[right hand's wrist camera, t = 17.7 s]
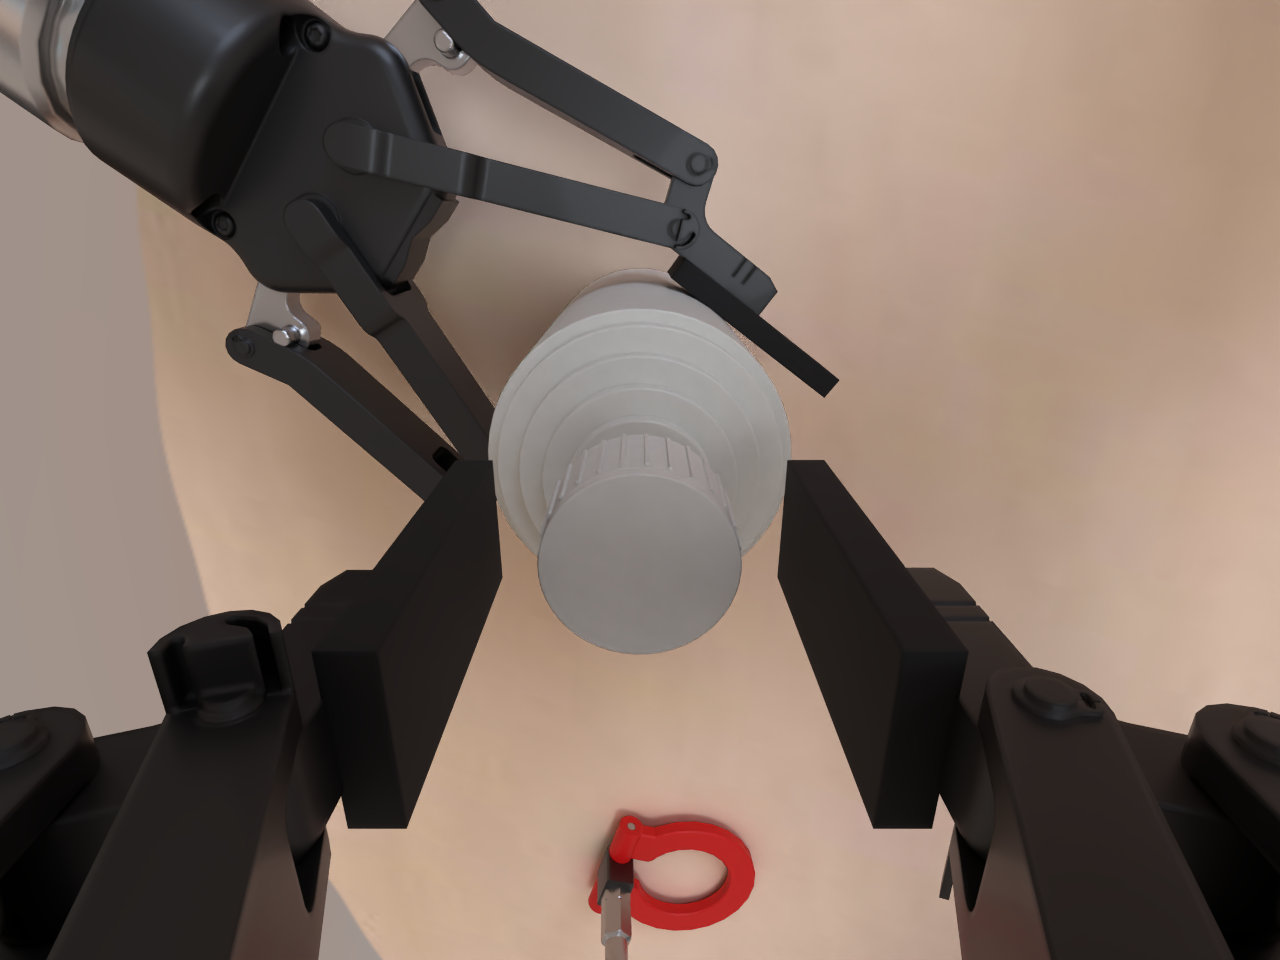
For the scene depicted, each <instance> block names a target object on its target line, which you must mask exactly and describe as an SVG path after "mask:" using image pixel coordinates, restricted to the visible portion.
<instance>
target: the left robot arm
mask: <svg viewBox="0 0 1280 960" xmlns="http://www.w3.org/2000/svg"><path fill="white" fill-rule="evenodd" d="M477 64H478V65H479V66H480V67H481V68H482V69H483V70H484V71H486V72H487V73H488V74H489V75H491V76H492V77H493V78H494V79H495V80H497V81H498V82H500V83H501V84H503V85H505V86H506V87H508V88H509V89H511V90H513V91H515V92H516V93H518V94H520V95H522V96H523V97H525V98H527V99H529V100H531V101H532V102H534V103H536V104H538V105H539V106H541V107H543V108H545V109H547V110H548V111H550V112H552V113H554V114H555V115H557V116H559V117H561V118H563V119H564V120H566V121H568V122H570V123H571V124H573V125H575V126H577V127H579V128H580V129H582V130H584V131H586V132H587V133H589V134H591V135H593V136H595V137H596V138H598V139H600V140H602V141H603V142H605V143H607V144H609V145H611V146H612V147H614V148H616V149H618V150H619V151H621V152H623V153H625V154H627V155H628V156H630V157H632V158H634V159H635V160H637V161H639V162H641V163H643V164H644V165H646V166H648V167H650V168H651V169H653V170H655V171H657V172H659V173H660V174H662V175H664V176H666V177H667V178H669V179H671V182H670V185H669V189H668V192H667V196H666V199H665V203H660V202H656V201H652V200H648V199H644V198H640V197H636V196H632V195H629V194H625V193H621V192H617V191H613V190H609V189H605V188H601V187H597V186H593V185H589V184H586V183H582V182H578V181H574V180H570V179H566V178H562V177H558V176H554V175H550V174H546V173H543V172H539V171H535V170H531V169H527V168H523V167H519V166H515V165H511V164H507V163H503V162H500V161H496V160H492V159H488V158H484V157H481V156H477V155H473V154H470V153H466V152H462V151H458V150H454V149H450V148H447V146H446V144H445V141H444V138H443V136H442V133H441V130H440V128H439V125H438V122H437V120H436V117H435V115H434V112H433V109H432V107H431V104H430V101H429V99H428V96H427V93H426V91H425V88H424V85H423V83H422V80H421V77H420V75H419V72H420V71H421V70H423V69H424V68H425V67H428V66H434V65H436V66H439V67H442V68H444V69H445V70H447V71H448V72H450V73H451V74H454V75H457V76H463V75H466V74H468V73H470V72H471V71H472V70H473V69H474V68H475V67H476V65H477ZM0 92H1V93H2V94H4V95H5V96H7V97H8V98H10V99H11V100H13V101H14V102H15V103H17V104H18V105H20V106H21V107H23V108H24V109H26V110H27V111H28V112H30V113H31V114H33V115H34V116H36V117H37V118H39V119H40V120H41V121H43V122H44V123H46V124H47V125H49V126H50V127H52V128H53V129H55V130H56V131H58V132H60V133H61V134H63V135H65V136H66V137H68V138H70V139H71V140H75V141H79V142H82V143H84V144H85V145H86V146H87V147H88V149H89V150H90V151H91V152H92V153H93V154H94V155H95V156H97V157H98V158H99V159H100V160H102V161H103V162H105V163H106V164H107V165H109V166H110V167H112V168H113V169H115V170H116V171H118V172H119V173H121V174H122V175H124V176H125V177H127V178H128V179H130V180H131V181H133V182H134V183H136V184H137V185H139V186H140V187H142V188H143V189H145V190H146V191H148V192H149V193H151V194H152V195H154V196H155V197H156V198H158V199H159V200H161V201H162V202H164V203H165V204H167V205H168V206H170V207H171V208H173V209H174V210H176V211H177V212H179V213H180V214H182V215H183V216H185V217H186V218H188V219H189V220H191V221H192V222H194V223H195V224H197V225H198V226H200V227H202V228H203V229H205V230H207V231H208V232H210V233H212V234H213V235H215V236H217V237H219V238H220V239H222V240H223V241H225V242H226V243H227V244H228V245H230V246H231V247H232V248H233V249H234V250H235V252H236V253H237V254H238V255H239V256H240V258H241V259H242V261H243V262H244V264H245V265H246V267H247V269H248V270H249V272H250V273H251V274H252V276H253V277H254V278H255V279H256V280H257V281H258V284H257V288H256V291H255V295H254V299H253V302H252V306H251V310H250V313H249V317H248V321H247V324H246V326H245V327H242V328H239V329H235V330H233V331H232V332H230V333H229V334H228V336H227V338H226V349H227V351H228V354H229V355H230V356H231V357H232V359H234V360H235V361H237V362H238V363H240V364H242V365H244V366H247V367H249V368H251V369H253V370H256V371H258V372H260V373H262V374H265V375H267V376H269V377H272V378H274V379H276V380H278V381H281V382H283V383H285V384H287V385H289V386H290V387H292V388H293V389H294V390H295V391H296V392H297V393H299V394H300V395H301V396H302V397H303V398H305V399H306V400H307V401H308V402H309V403H310V404H312V405H313V406H314V407H315V408H316V409H317V410H319V411H320V412H321V413H322V414H323V415H324V416H326V417H327V418H328V419H329V420H330V421H331V422H333V423H334V424H335V425H336V426H337V427H339V428H340V429H341V430H342V431H343V432H344V433H346V434H347V435H348V436H349V437H350V438H351V439H353V440H354V441H355V442H356V443H357V444H358V445H360V446H361V447H362V448H363V449H364V450H365V451H367V452H368V453H369V454H370V455H371V456H372V457H374V458H375V459H376V460H377V461H378V462H380V463H381V464H382V465H383V466H384V467H385V468H387V469H388V470H389V471H390V472H391V473H392V474H394V475H395V476H396V477H397V478H398V479H399V480H401V481H402V482H403V483H404V484H405V485H406V486H408V487H409V488H410V489H411V490H412V491H413V492H415V493H416V494H417V495H418V496H419V497H421V498H422V499H423V500H424V501H425V500H426V499H427V497H428V496H429V495H430V494H431V492H432V491H433V490H434V488H435V487H436V486H437V484H438V483H439V482H440V480H441V479H442V478H443V476H444V475H445V474H446V472H447V471H448V470H449V468H450V467H451V466H452V464H453V463H454V462H455V460H489V458H488V444H489V431H490V427H491V422H492V418H493V413H494V410H495V408H494V407H493V405H492V404H491V402H490V401H489V399H488V398H487V397H486V395H485V394H484V392H483V391H482V389H481V388H480V386H479V385H478V383H477V382H476V380H475V379H474V377H473V376H472V374H471V373H470V372H469V370H468V369H467V367H466V366H465V364H464V363H463V361H462V360H461V358H460V357H459V355H458V354H457V352H456V351H455V349H454V348H453V347H452V345H451V344H450V342H449V341H448V339H447V338H446V336H445V335H444V333H443V332H442V330H441V329H440V327H439V326H438V325H437V323H436V322H435V320H434V319H433V317H432V316H431V314H430V313H429V311H428V308H427V303H426V300H425V298H424V297H423V295H422V293H421V292H420V290H419V289H418V287H417V286H416V284H415V283H414V281H413V280H412V279H413V278H414V277H415V275H416V273H417V272H418V270H419V268H420V267H421V265H422V263H423V262H424V260H425V256H426V252H427V248H428V244H429V241H430V238H431V236H432V235H433V234H434V233H435V232H437V231H438V230H439V229H440V228H441V227H442V226H443V225H444V224H445V223H446V222H447V221H448V220H449V218H450V216H451V215H452V213H453V211H454V210H455V208H456V206H457V205H458V203H459V201H457V200H456V195H459V196H463V197H467V198H472V199H477V200H481V201H485V202H489V203H493V204H497V205H501V206H505V207H509V208H513V209H517V210H521V211H525V212H529V213H533V214H537V215H541V216H545V217H549V218H553V219H557V220H561V221H565V222H569V223H573V224H577V225H581V226H585V227H589V228H593V229H597V230H601V231H605V232H609V233H613V234H617V235H621V236H625V237H629V238H633V239H637V240H641V241H645V242H649V243H653V244H657V245H661V246H665V247H669V248H671V249H673V250H674V251H675V252H676V253H678V254H679V256H678V258H677V259H676V261H675V262H674V263H673V265H672V266H671V267H670V269H669V270H668V274H669V276H670V278H671V279H673V280H674V281H675V282H676V283H678V284H679V285H680V286H682V287H683V288H684V289H685V290H687V291H688V292H689V293H691V294H692V295H693V296H694V297H696V298H697V299H698V300H699V301H701V302H702V303H703V304H705V305H706V306H707V307H709V308H710V309H711V310H712V311H714V312H715V313H716V314H717V315H719V316H720V317H721V318H723V319H724V320H725V321H726V322H728V323H729V324H730V325H732V326H733V327H734V328H735V329H737V330H738V331H739V332H741V333H742V334H743V335H744V336H746V337H747V338H748V339H750V340H751V341H752V342H753V343H755V344H756V345H757V346H759V347H760V348H761V349H762V350H764V351H765V352H766V353H767V354H769V355H770V356H771V357H773V358H774V359H775V360H776V361H778V362H779V363H780V364H782V365H783V366H784V367H785V368H787V369H788V370H789V371H791V372H792V373H793V374H794V375H796V376H797V377H798V378H800V379H801V380H802V381H803V382H805V383H806V384H807V385H809V386H810V387H811V388H812V389H814V390H815V391H816V392H818V393H819V394H820V395H821V396H823V397H824V398H825V396H826V395H827V394H828V393H829V392H830V391H831V389H832V388H833V387H834V386H835V385H836V384H837V382H838V381H839V379H838V378H836V377H835V376H834V375H833V374H831V373H830V372H829V371H828V370H827V369H825V368H824V367H823V366H822V365H820V364H819V363H818V362H817V361H815V360H814V359H813V358H812V357H810V356H809V355H808V354H807V353H805V352H804V351H803V350H802V349H800V348H799V347H798V346H797V345H795V344H794V343H793V342H791V341H790V340H789V339H788V338H786V337H785V336H784V335H783V334H781V333H780V332H779V331H778V330H776V329H775V328H774V327H773V326H771V325H770V324H769V323H767V322H766V321H765V320H764V319H762V318H761V317H760V316H759V315H760V313H761V312H762V311H763V310H764V308H765V307H766V306H767V305H768V303H769V302H770V301H771V299H772V298H773V297H774V296H775V294H776V293H777V290H776V288H775V286H774V284H773V282H772V281H771V279H770V277H769V276H768V275H766V274H765V273H764V272H763V271H761V270H760V269H759V268H758V267H756V266H755V265H754V264H753V263H752V262H750V261H749V260H748V259H747V258H745V257H744V256H743V255H742V254H740V253H739V252H738V251H737V250H736V249H734V248H733V247H732V246H731V245H729V244H728V243H727V242H726V241H724V240H723V239H722V238H721V237H720V236H718V235H717V234H716V233H715V232H714V231H713V230H712V229H711V228H710V227H709V225H708V224H707V221H706V218H705V204H706V200H707V197H708V194H709V191H710V187H711V184H712V181H713V178H714V176H715V174H716V171H717V168H718V158H717V155H716V153H715V151H714V149H713V148H711V147H710V146H709V145H708V144H707V143H705V142H703V141H701V140H700V139H698V138H696V137H694V136H693V135H691V134H689V133H688V132H686V131H684V130H682V129H681V128H679V127H677V126H675V125H674V124H672V123H670V122H668V121H667V120H665V119H663V118H662V117H660V116H658V115H656V114H655V113H653V112H651V111H649V110H648V109H646V108H644V107H643V106H641V105H639V104H637V103H636V102H634V101H632V100H630V99H629V98H627V97H625V96H623V95H622V94H620V93H618V92H617V91H615V90H613V89H611V88H610V87H608V86H606V85H604V84H603V83H601V82H599V81H598V80H596V79H594V78H592V77H591V76H589V75H587V74H585V73H584V72H582V71H580V70H579V69H577V68H575V67H573V66H572V65H570V64H568V63H566V62H565V61H563V60H561V59H559V58H558V57H556V56H554V55H553V54H551V53H549V52H547V51H546V50H544V49H542V48H540V47H539V46H537V45H535V44H534V43H532V42H530V41H528V40H527V39H525V38H523V37H521V36H520V35H518V34H516V33H514V32H513V31H511V30H509V29H508V28H506V27H504V26H502V25H501V24H499V23H497V22H495V21H494V20H493V19H492V17H491V16H490V15H489V14H488V13H487V12H486V10H485V9H484V8H483V7H482V6H481V5H480V3H479V2H478V1H477V0H415V1H414V2H413V3H412V5H411V6H410V7H409V8H408V10H407V11H406V12H405V13H404V15H403V16H402V17H401V18H400V20H399V21H398V22H397V23H396V25H395V26H394V27H393V28H392V30H391V31H390V32H389V33H388V35H387V36H386V37H385V38H384V39H383V38H381V37H378V36H375V35H370V34H362V33H356V32H353V31H350V30H347V29H345V28H344V27H343V26H341V25H340V24H338V23H337V22H336V21H335V20H333V19H332V18H331V17H329V16H328V15H327V14H326V13H324V12H323V11H322V10H320V9H319V8H318V7H317V6H315V5H314V4H313V3H311V2H310V1H309V0H0ZM300 293H337V294H338V296H339V297H340V299H341V300H342V301H343V303H344V304H345V306H346V307H347V308H348V310H349V311H350V312H351V314H352V315H353V317H354V318H355V319H356V321H357V322H358V324H359V325H360V326H361V327H362V329H363V330H364V331H365V332H366V333H368V334H369V335H371V336H373V337H375V338H376V339H377V340H378V341H379V342H380V344H381V345H382V346H383V348H384V349H385V351H386V352H387V353H388V355H389V356H390V358H391V359H392V360H393V362H394V363H395V365H396V366H397V367H398V369H399V370H400V371H401V373H402V374H403V376H404V377H405V378H406V380H407V381H408V383H409V384H410V385H411V387H412V388H413V390H414V391H415V392H416V394H417V395H418V397H419V398H420V399H421V401H422V402H423V404H424V405H425V406H426V408H427V409H428V410H429V412H430V413H431V415H432V416H433V417H434V419H435V420H436V422H437V423H438V424H439V426H440V427H441V429H442V430H443V431H444V433H445V434H446V436H447V437H448V438H449V440H450V441H451V443H452V444H453V445H454V447H455V448H456V450H457V451H458V452H459V453H458V452H457V451H456V450H455V449H453V448H452V447H451V446H450V445H449V444H448V443H447V442H446V441H444V440H443V439H442V438H441V437H440V436H439V435H438V434H437V433H435V432H434V431H433V430H432V429H431V428H430V427H429V426H428V425H427V424H425V423H424V422H423V421H422V420H421V419H420V418H419V417H418V416H416V415H415V414H414V413H413V412H412V411H411V410H410V409H409V408H407V407H406V406H405V405H404V404H403V403H402V402H401V401H400V400H398V399H397V398H396V397H395V396H394V395H393V394H392V393H391V392H390V391H388V390H387V389H386V388H385V387H384V386H383V385H382V384H381V383H379V382H378V381H377V380H376V379H375V378H374V377H373V376H372V375H370V374H369V373H368V372H367V371H366V370H365V369H364V368H363V367H362V366H360V365H359V364H358V363H357V362H356V361H355V360H354V359H353V358H351V357H350V356H349V355H348V354H347V353H345V352H344V351H343V350H342V349H340V348H339V347H337V346H336V345H334V344H333V343H331V342H330V341H328V340H326V339H324V338H322V337H321V326H320V324H319V323H318V322H317V321H316V320H315V319H314V318H312V317H311V316H310V315H309V314H307V313H306V312H305V310H304V309H303V308H302V306H301V303H300V298H299V296H300ZM496 500H497V498H496Z"/></svg>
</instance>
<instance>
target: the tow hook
mask: <svg viewBox="0 0 1280 960" xmlns="http://www.w3.org/2000/svg"><path fill="white" fill-rule="evenodd" d="M690 849H692V850H699V851H704V852H707V853H709V854H712V855H714V856H716V857H717V858H718V859H720V860H721V861H722V862H723V863H724V864H725V866H726V867H727V868H728V876H727V878H726V881H725V883H724V884H723V885H722V887H721V888H720V889H719V890H718V891H717V892H715V893H714V894H713V895H711V896H710V897H708V898H705V899H703V900H701V901H697V902H693V903H688V904H672V903H665V902H662V901H659V900H657V899H654V898H653V897H651V896H650V895H648V894H647V893H646V892H645V891H644V889H643V888H642V887H641V885H640V882H639V881H638V880H637V879H635V878H634V870H633V859H637V860H642V861H652V860H654V859H655V858H657V857H659V856H661V855H663V854H665V853H668V852H672V851H677V850H690ZM754 879H755V870H754V866H753V862H752V858H751V855H750V852H749V850H748V849H747V847H746V846H745V845H744V843H743V842H742V841H741V840H740V839H739V838H738V837H736V836H735V835H734V834H732V833H731V832H730V831H728V830H725V829H723V828H720V827H718V826H715V825H712V824H706V823H700V822H675V823H671V824H666V825H662V826H658V827H655V828H654V827H649V826H644V825H642V823H641V822H640V821H639V820H638V819H637V818H635V817H633V816H625V817H623V818H622V819H621V821H620V823H619V826H618V828H617V831H616V833H615V835H614V838H613V840H612V843H611V844H610V845H609V846H608V848H607V850H606V853H605V855H604V858H603V860H602V863H601V865H600V867H599V870H598V877H597V879H596V882H595V884H594V886H593V889H592V891H591V894H590V896H589V900H588V902H589V906H590V908H591V909H592V910H593V911H594V912H596V913H599V914H601V943H602V944H603V945H604V946H605V960H628V945H629V942H630V940H631V935H632V933H631V917H633V918H635V919H636V920H638V921H639V922H641V923H644V924H647V925H649V926H652V927H655V928H659V929H667V930H693V929H697V928H702V927H706V926H710V925H712V924H714V923H717V922H719V921H721V920H724V919H725V918H727V917H728V916H730V915H731V914H733V913H734V912H735V911H737V910H738V909H739V908H740V907H741V906H742V905H743V904H744V902H745V901H746V900H747V899H748V897H749V895H750V893H751V891H752V889H753V887H754Z"/></svg>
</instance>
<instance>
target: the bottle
mask: <svg viewBox="0 0 1280 960" xmlns="http://www.w3.org/2000/svg"><path fill="white" fill-rule="evenodd" d="M625 434H626V435H627V436H629V435H644V434H649V435H650V436H657V437H662V438H666V437H668V438H670V440H672V441H674V442H677V443H679V444H681V445H683V446H685V447H686V445H687V446H689V447H690V450H692V451H693V452H694V453H696V454H697V455H698V456H699V457H701V458H702V459H703V458H705V459H706V460H707V464H708V466H709V467H710V468H711V469H712V471H713V472H714V474H717V473H718V475H719V477H720V481H721V484H722V487H723V490H724V491H726V492H727V495H728V498H729V501H730V504H731V507H732V511H733V514H734V517H735V520H736V523H737V527H738V530H737V534H738V537H739V540H740V543H741V547H742V550H741V557H743V556H744V555H745V554H746V553H747V552H748V551H749V550H750V549H751V548H752V547H753V546H754V545H755V544H756V543H757V542H758V540H759V539H760V538H761V536H762V535H763V534H764V532H765V531H766V530H767V528H768V527H769V525H770V523H771V522H772V520H773V518H774V516H775V515H776V513H777V511H778V509H779V506H780V504H781V501H782V499H783V496H784V494H785V482H786V470H787V460H791V437H790V431H789V425H788V419H787V416H786V413H785V410H784V407H783V404H782V401H781V398H780V396H779V394H778V392H777V390H776V388H775V386H774V384H773V382H772V381H771V379H770V378H769V376H768V375H767V373H766V372H765V370H764V369H763V367H762V366H761V365H760V364H759V362H758V361H757V360H756V359H755V357H754V356H753V355H752V354H751V352H750V351H749V350H748V349H747V348H746V346H745V345H744V344H743V343H742V341H741V340H740V339H739V338H738V336H737V335H736V334H735V333H734V332H733V330H732V329H731V328H730V327H729V325H728V324H727V323H726V322H725V320H724V319H723V318H721V317H720V316H719V315H717V314H716V313H715V312H714V311H712V310H711V309H710V308H709V307H707V306H706V305H705V304H703V303H702V302H701V301H699V300H698V299H697V298H696V297H694V296H693V295H692V294H691V293H689V292H688V291H687V290H685V289H684V288H683V287H682V286H680V285H679V284H678V283H676V282H675V281H674V280H673V279H671V278H670V276H669V274H668V273H666V272H663V271H659V270H653V269H637V268H636V269H627V270H621V271H617V272H613V273H610V274H608V275H605V276H603V277H601V278H599V279H597V280H595V281H594V282H592V283H590V284H589V285H588V286H586V287H585V288H584V289H582V290H581V291H580V292H579V293H578V294H577V295H576V296H575V297H574V298H573V299H572V300H571V302H570V303H569V304H568V305H567V306H566V308H565V309H564V310H563V311H562V313H561V314H560V315H559V316H558V318H557V319H556V320H555V321H554V322H553V324H552V325H551V326H550V327H549V329H548V330H547V331H546V332H545V333H544V335H543V336H542V337H541V338H540V340H539V341H538V342H537V343H536V344H535V346H534V347H533V348H532V349H531V351H530V352H529V353H528V354H527V355H526V357H525V358H524V359H523V360H522V362H521V363H520V364H519V366H518V367H517V368H516V370H515V371H514V372H513V374H512V375H511V376H510V378H509V380H508V382H507V383H506V385H505V387H504V389H503V391H502V393H501V394H500V397H499V400H498V402H497V405H496V408H495V410H494V413H493V418H492V422H491V427H490V431H489V444H488V458H489V460H493V470H494V482H495V494H496V498H497V500H498V503H499V506H500V508H501V510H502V512H503V514H504V516H505V518H506V520H507V521H508V523H509V524H510V526H511V527H512V529H513V530H514V532H515V533H516V535H517V536H518V537H519V538H520V540H521V541H522V542H523V543H524V544H525V545H526V546H527V547H528V549H529V550H530V551H531V552H533V553H534V554H535V555H536V556H537V555H538V551H539V547H540V542H541V538H540V537H539V534H540V531H541V528H542V525H543V521H544V518H545V515H546V512H547V509H548V506H549V503H550V499H551V498H552V495H553V492H554V489H555V486H556V483H557V481H558V480H560V481H561V479H562V477H563V475H564V474H565V472H566V469H567V466H568V465H569V463H571V464H573V463H574V462H575V461H576V459H577V458H578V457H580V456H581V455H582V453H583V451H584V450H589V449H591V448H593V447H594V446H596V445H598V444H600V443H601V441H603V440H606V441H607V440H610V439H614V438H617V437H622V435H625ZM537 557H538V556H537Z"/></svg>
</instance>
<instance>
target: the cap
mask: <svg viewBox="0 0 1280 960" xmlns="http://www.w3.org/2000/svg"><path fill="white" fill-rule="evenodd" d="M737 530H738V527H737V523H736V520H735V517H734V514H733V511H732V507H731V504H730V501H729V498H728V495H727V492H726V491H724V490H723V487H722V484H721V481H720V477H719V475H718V473H717V474H714V472H713V471H712V469H711V468H710V467H709V466H708V464H707V460H706V459H705V458H703V459H702V458H701V457H699V456H698V455H697V454H696V453H694V452H693V451H692V450H690V447H689V446H687V445H686V447H685V446H683V445H681V444H679V443H677V442H674V441H672V440H670V438H668V437H666V438H662V437H657V436H650V435H649V434H644V435H629V436H627V435H626V434H625V435H622V437H617V438H614V439H610V440H607V441H606V440H603V441H601V443H600V444H598V445H596V446H594V447H593V448H591V449H589V450H584V451H583V453H582V455H581V456H580V457H578V458H577V459H576V461H575V462H574V463H573V464H571V463H569V465H568V466H567V469H566V472H565V474H564V475H563V477H562V479H561V481H560V480H558V481H557V483H556V486H555V489H554V492H553V495H552V498H551V499H550V503H549V506H548V509H547V512H546V515H545V518H544V521H543V525H542V528H541V531H540V534H539V537H540V538H541V542H540V547H539V551H538V555H537V556H538V564H537V565H538V576H539V581H540V585H541V589H542V591H543V594H544V596H545V599H546V601H547V602H548V604H549V606H550V608H551V609H552V611H553V612H554V613H555V615H556V616H557V617H558V619H559V620H560V621H561V622H562V623H563V624H564V625H565V626H566V627H567V628H568V629H570V630H571V631H572V632H573V633H575V634H576V635H577V636H579V637H581V638H582V639H584V640H585V641H587V642H589V643H591V644H594V645H596V646H598V647H601V648H604V649H607V650H610V651H614V652H619V653H626V654H653V653H661V652H665V651H669V650H673V649H676V648H678V647H681V646H684V645H686V644H688V643H690V642H692V641H694V640H696V639H697V638H699V637H700V636H702V635H703V634H705V633H706V632H707V631H708V630H710V629H711V628H712V627H713V626H714V625H715V624H716V623H717V622H718V621H719V620H720V619H721V618H722V616H723V615H724V614H725V612H726V611H727V609H728V608H729V606H730V605H731V603H732V601H733V599H734V597H735V595H736V592H737V589H738V586H739V582H740V576H741V564H742V559H741V550H742V547H741V543H740V540H739V537H738V534H737Z"/></svg>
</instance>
